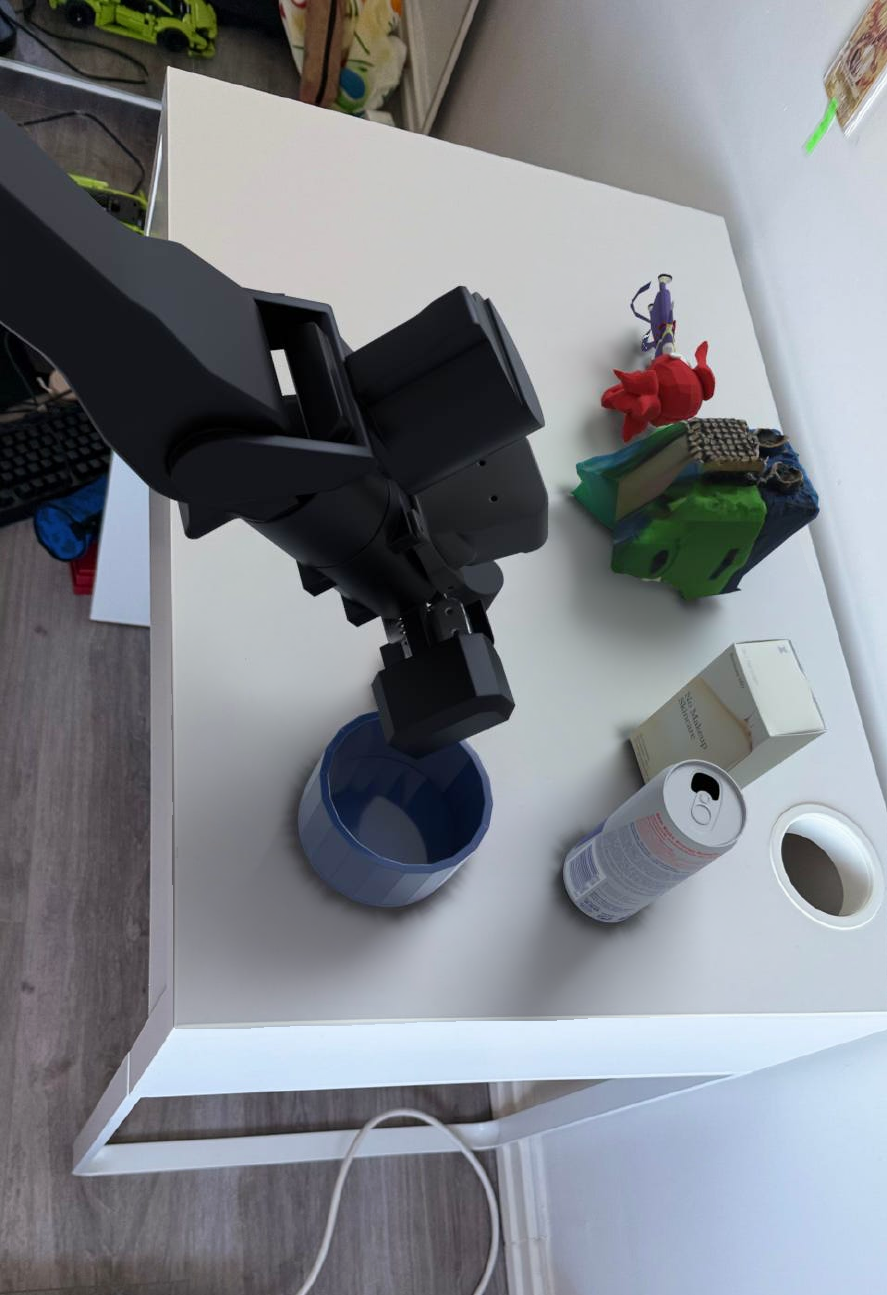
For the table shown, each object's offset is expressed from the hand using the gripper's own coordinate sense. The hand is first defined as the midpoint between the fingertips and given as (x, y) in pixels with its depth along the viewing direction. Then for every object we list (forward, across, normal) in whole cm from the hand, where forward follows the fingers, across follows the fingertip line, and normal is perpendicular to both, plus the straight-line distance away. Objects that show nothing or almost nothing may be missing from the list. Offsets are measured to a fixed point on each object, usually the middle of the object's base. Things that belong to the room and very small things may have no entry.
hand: (469, 628), depth 63 cm
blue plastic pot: (0, -9, +9) cm, 13 cm away
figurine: (+22, +25, -13) cm, 36 cm away
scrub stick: (+4, 0, +6) cm, 7 cm away
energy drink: (+10, -14, 0) cm, 17 cm away
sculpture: (+19, +10, -10) cm, 24 cm away
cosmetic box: (+15, -8, -6) cm, 18 cm away
